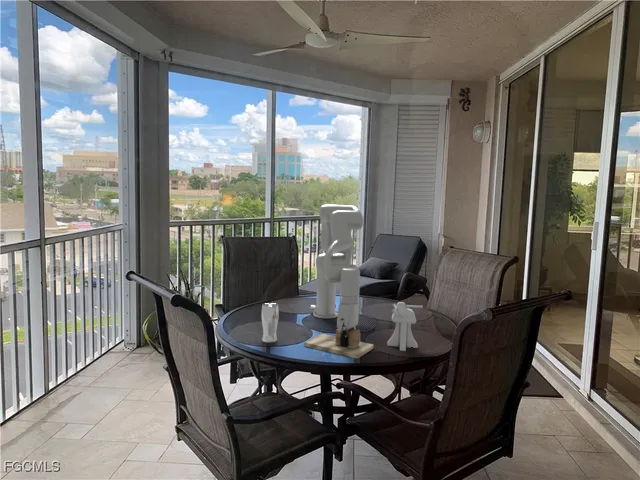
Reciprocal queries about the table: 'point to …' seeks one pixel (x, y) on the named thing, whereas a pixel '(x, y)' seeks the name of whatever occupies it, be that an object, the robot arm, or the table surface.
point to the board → (337, 346)
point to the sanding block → (350, 337)
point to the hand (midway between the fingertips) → (347, 343)
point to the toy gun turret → (403, 326)
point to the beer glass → (269, 322)
